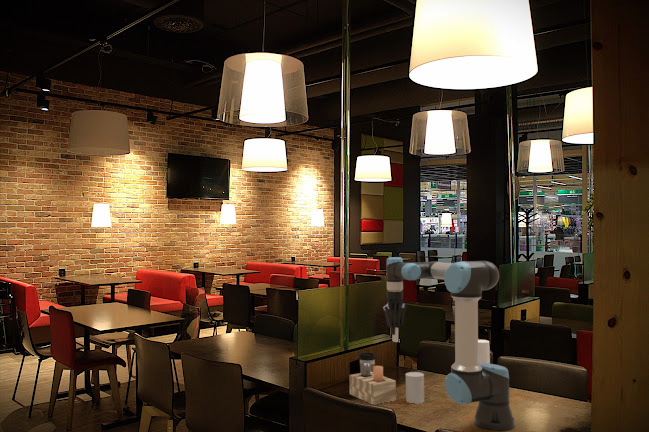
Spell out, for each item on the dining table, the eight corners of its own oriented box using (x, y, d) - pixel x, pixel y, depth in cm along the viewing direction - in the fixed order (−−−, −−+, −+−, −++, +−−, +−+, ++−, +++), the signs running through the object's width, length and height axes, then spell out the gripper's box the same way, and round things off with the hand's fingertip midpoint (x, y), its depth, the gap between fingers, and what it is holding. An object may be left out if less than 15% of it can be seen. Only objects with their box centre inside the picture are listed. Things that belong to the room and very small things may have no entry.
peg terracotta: (385, 387, 251) (385, 367, 251) (377, 388, 249) (377, 368, 249) (379, 384, 255) (379, 365, 255) (371, 386, 253) (371, 366, 253)
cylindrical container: (478, 392, 262) (477, 339, 263) (493, 394, 258) (491, 340, 259) (472, 395, 257) (470, 341, 258) (486, 398, 252) (485, 343, 253)
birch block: (395, 400, 250) (395, 380, 251) (374, 405, 244) (374, 384, 245) (370, 390, 268) (370, 371, 268) (349, 394, 262) (349, 374, 262)
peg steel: (372, 382, 260) (372, 362, 260) (364, 383, 257) (364, 364, 258) (367, 380, 263) (366, 361, 264) (359, 381, 261) (359, 362, 262)
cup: (424, 404, 245) (423, 377, 245) (405, 403, 247) (405, 376, 247) (424, 398, 253) (424, 372, 253) (406, 398, 254) (406, 371, 255)
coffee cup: (356, 382, 282) (355, 352, 283) (370, 380, 286) (370, 350, 286) (364, 386, 275) (363, 355, 275) (379, 384, 278) (378, 354, 279)
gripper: (401, 288, 264) (401, 338, 263) (378, 290, 257) (379, 341, 257) (411, 290, 257) (411, 341, 257) (388, 292, 251) (388, 344, 250)
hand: (395, 341), depth 257 cm, fingers closed
